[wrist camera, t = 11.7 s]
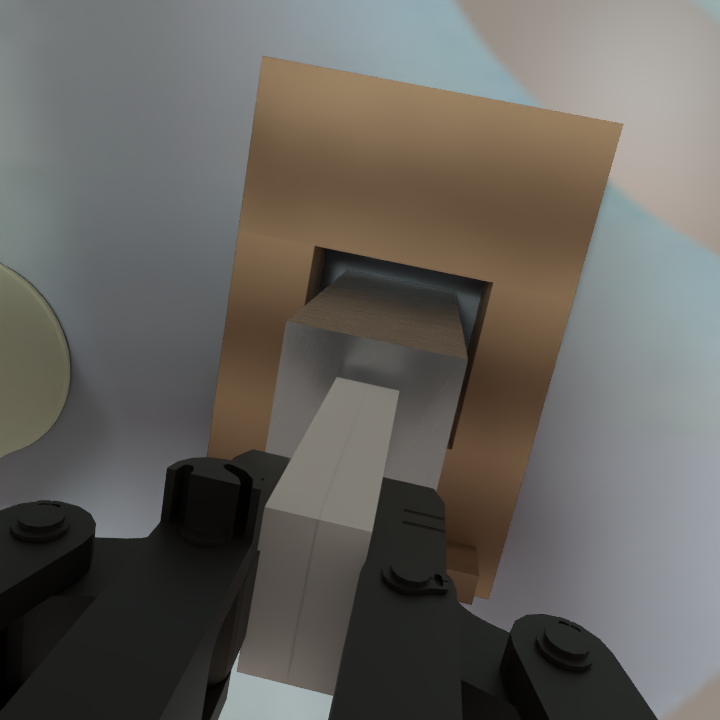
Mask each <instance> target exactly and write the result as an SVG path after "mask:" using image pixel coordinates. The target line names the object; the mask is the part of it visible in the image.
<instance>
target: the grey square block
mask: <svg viewBox="0 0 720 720" xmlns="http://www.w3.org/2000/svg"><path fill="white" fill-rule="evenodd" d="M467 362H468V357H467V351H466V346H465V341H464V335H463V330H462V325H461V320H460V314H459V309H458V304H457V298H456V293H455V292H453V291H448V290H443V289H438V288H433V287H429V286H424V285H419V284H414V283H409V282H404V281H399V280H394V279H389V278H384V277H379V276H375V275H370V274H365V273H360V272H355V271H350V270H347V271H346V272H344V273H343V274H342V275H341V276H340V277H338V278H337V279H336V280H335V281H334V282H333V283H331V284H330V285H329V286H328V287H327V288H325V289H324V290H323V291H322V292H321V293H319V294H318V295H317V296H316V297H315V298H313V299H312V300H311V301H310V302H309V303H307V304H306V305H305V306H304V307H303V308H301V309H300V310H299V311H298V312H297V313H296V314H294V315H293V316H292V317H291V318H290V319H288V320H287V321H286V325H285V332H284V338H283V344H282V350H281V357H280V363H279V369H278V375H277V382H276V388H275V394H274V400H273V407H272V413H271V419H270V425H269V432H268V438H267V444H266V450H265V452H267V453H271V454H276V455H280V456H284V457H289V458H292V457H293V455H294V453H295V451H296V450H297V448H298V446H299V444H300V442H301V441H302V439H303V437H304V435H305V433H306V432H307V430H308V428H309V426H310V424H311V423H312V421H313V419H314V417H315V415H316V414H317V412H318V410H319V408H320V406H321V405H322V403H323V401H324V399H325V397H326V396H327V394H328V392H329V390H330V388H331V387H332V385H333V383H334V381H335V379H336V378H337V377H339V378H343V379H348V380H352V381H357V382H361V383H366V384H371V385H375V386H380V387H384V388H389V389H393V390H398V391H399V396H398V401H397V407H396V412H395V417H394V422H393V427H392V432H391V438H390V443H389V448H388V453H387V458H386V463H385V469H384V474H383V477H386V478H390V479H394V480H399V481H403V482H408V483H412V484H416V485H421V486H425V487H429V488H434V490H435V491H437V487H438V482H439V478H440V474H441V470H442V466H443V462H444V458H445V453H446V449H447V445H448V441H449V437H450V433H451V428H452V424H453V420H454V416H455V412H456V408H457V404H458V399H459V395H460V391H461V387H462V383H463V379H464V374H465V370H466V366H467Z"/></svg>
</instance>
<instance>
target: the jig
mask: <svg viewBox="0 0 720 720" xmlns="http://www.w3.org/2000/svg"><path fill="white" fill-rule="evenodd" d="M622 127H623V124H620V123H616V122H610V121H605V120H599V119H594V118H588V117H583V116H578V115H573V114H567V113H563V112H557V111H552V110H547V109H541V108H536V107H531V106H525V105H520V104H515V103H509V102H504V101H499V100H494V99H488V98H483V97H478V96H472V95H467V94H462V93H456V92H451V91H446V90H441V89H435V88H430V87H425V86H419V85H414V84H409V83H403V82H398V81H393V80H388V79H382V78H377V77H372V76H366V75H361V74H356V73H350V72H345V71H340V70H334V69H329V68H324V67H319V66H313V65H308V64H303V63H297V62H292V61H287V60H281V59H276V58H271V57H266V56H262V64H261V71H260V78H259V85H258V92H257V100H256V107H255V114H254V121H253V128H252V136H251V143H250V150H249V157H248V164H247V172H246V179H245V186H244V193H243V200H242V208H241V215H240V222H239V229H238V236H237V244H236V251H235V258H234V265H233V272H232V280H231V287H230V294H229V301H228V308H227V316H226V323H225V330H224V337H223V344H222V352H221V359H220V366H219V373H218V381H217V388H216V395H215V402H214V409H213V417H212V424H211V431H210V438H209V445H208V453H207V457H213V458H220V459H227V460H232V459H233V458H234V457H236V456H238V455H240V454H243V453H245V452H247V451H250V450H252V449H254V450H258V451H263V452H265V450H266V444H267V438H268V432H269V425H270V419H271V413H272V407H273V400H274V394H275V388H276V382H277V375H278V369H279V363H280V357H281V350H282V344H283V338H284V332H285V325H286V321H287V320H288V319H290V318H291V317H292V316H293V315H294V314H296V313H297V312H298V311H299V310H300V309H301V308H303V307H304V306H305V305H306V304H307V303H309V302H310V301H311V300H312V299H313V298H315V297H316V296H317V295H318V294H319V290H320V285H321V279H322V273H323V268H324V262H325V256H326V251H327V248H328V249H333V250H338V251H343V252H347V253H352V254H357V255H362V256H367V257H372V258H377V259H381V260H386V261H391V262H396V263H401V264H406V265H410V266H415V267H420V268H425V269H430V270H435V271H440V272H444V273H449V274H454V275H459V276H464V277H469V278H473V279H478V280H483V281H485V283H484V287H483V291H482V295H481V299H480V303H479V307H478V312H477V316H476V320H475V324H474V328H473V332H472V336H471V340H470V344H469V348H468V352H467V357H468V362H467V366H466V370H465V374H464V379H463V383H462V387H461V391H460V395H459V399H458V404H457V408H456V412H455V416H454V420H453V424H452V428H451V433H450V437H449V441H448V445H447V449H446V453H445V458H444V462H443V466H442V470H441V474H440V478H439V482H438V487H437V491H436V492H437V494H438V495H439V496H440V498H441V499H442V500H443V502H444V503H445V527H446V531H445V534H446V567H447V574H448V575H449V576H450V577H451V579H452V580H453V582H454V585H455V588H456V591H457V601H458V602H461V603H466V604H470V605H472V601H473V598H474V596H477V597H481V598H485V599H489V596H490V592H491V589H492V585H493V582H494V578H495V575H496V571H497V568H498V564H499V561H500V557H501V554H502V550H503V547H504V543H505V539H506V536H507V532H508V529H509V525H510V522H511V518H512V515H513V511H514V508H515V504H516V501H517V497H518V494H519V490H520V487H521V483H522V480H523V476H524V472H525V469H526V465H527V462H528V458H529V455H530V451H531V448H532V444H533V441H534V437H535V434H536V430H537V427H538V423H539V420H540V416H541V412H542V409H543V405H544V402H545V398H546V395H547V391H548V388H549V384H550V381H551V377H552V374H553V370H554V367H555V363H556V360H557V356H558V353H559V349H560V345H561V342H562V338H563V335H564V331H565V328H566V324H567V321H568V317H569V314H570V310H571V307H572V303H573V300H574V296H575V293H576V289H577V285H578V282H579V278H580V275H581V271H582V268H583V264H584V261H585V257H586V254H587V250H588V247H589V243H590V240H591V236H592V233H593V229H594V225H595V222H596V218H597V215H598V211H599V208H600V204H601V201H602V197H603V194H604V190H605V187H606V183H607V180H608V176H609V172H610V169H611V166H612V162H613V158H614V155H615V151H616V148H617V144H618V141H619V137H620V134H621V130H622Z"/></svg>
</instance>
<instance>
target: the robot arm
mask: <svg viewBox="0 0 720 720" xmlns="http://www.w3.org/2000/svg"><path fill="white" fill-rule="evenodd" d="M398 396H399V391H398V390H393V389H389V388H384V387H380V386H375V385H371V384H366V383H361V382H357V381H352V380H348V379H343V378H339V377H337V378H336V379H335V381H334V383H333V385H332V387H331V388H330V390H329V392H328V394H327V396H326V397H325V399H324V401H323V403H322V405H321V406H320V408H319V410H318V412H317V414H316V415H315V417H314V419H313V421H312V423H311V424H310V426H309V428H308V430H307V432H306V433H305V435H304V437H303V439H302V441H301V442H300V444H299V446H298V448H297V450H296V451H295V453H294V455H293V457H292V458H289V457H284V456H280V455H276V454H271V453H267V452H263V451H258V450H254V449H252V450H250V451H247V452H245V453H243V454H240V455H238V456H236V457H234V458H233V459H232V460H227V459H220V458H213V457H203V458H190V459H186V460H182V461H178V462H176V463H175V464H173V465H171V466H170V467H168V468H167V473H166V481H165V489H164V497H163V506H162V514H161V522H160V523H159V524H158V525H157V527H156V528H155V529H154V530H153V531H152V532H151V534H150V535H149V536H148V537H145V538H129V539H123V538H97V537H95V527H96V523H95V521H94V519H93V517H92V515H91V514H90V513H88V512H87V511H85V510H84V509H82V508H80V507H79V506H75V505H71V504H68V503H64V502H60V501H50V500H40V501H36V502H29V503H22V504H18V505H15V506H12V507H9V508H6V509H3V510H1V511H0V720H218V718H219V716H220V713H221V711H222V708H223V706H224V704H225V701H226V699H227V693H228V687H229V681H230V675H231V669H232V667H233V664H234V662H235V660H236V658H237V655H238V653H239V651H240V656H239V661H238V667H237V672H240V673H244V674H248V675H252V676H256V677H260V678H264V679H268V680H272V681H276V682H280V683H284V684H288V685H292V686H296V687H300V688H304V689H308V690H312V691H316V692H320V693H324V694H328V695H332V696H333V700H332V705H331V709H330V714H329V718H328V720H658V719H657V718H656V716H655V715H654V713H653V712H652V710H651V709H650V707H649V706H648V704H647V703H646V701H645V700H644V698H643V697H642V696H641V694H640V693H639V691H638V690H637V688H636V687H635V685H634V684H633V682H632V681H631V679H630V678H629V676H628V675H627V674H626V672H625V671H624V669H623V668H622V666H621V665H620V663H619V662H618V660H617V659H616V657H615V656H614V654H613V653H612V652H611V651H610V650H609V649H608V648H607V647H606V645H605V644H604V643H603V642H602V641H601V640H600V639H599V638H597V637H596V636H595V635H593V634H592V633H590V632H589V631H587V630H586V629H584V628H583V627H582V626H580V625H578V624H576V623H574V622H570V621H569V620H567V619H564V618H561V617H555V616H550V615H545V614H534V615H526V616H524V617H522V618H520V619H518V620H516V621H515V622H514V624H513V627H512V629H511V631H510V633H509V632H507V631H505V630H502V629H500V628H498V627H496V626H494V625H492V624H489V623H487V622H486V621H484V620H482V619H480V618H478V617H476V616H475V615H473V614H472V613H471V612H469V611H468V610H467V609H465V608H464V607H463V606H462V605H461V604H460V603H459V602H458V601H457V591H456V588H455V585H454V582H453V580H452V579H451V577H450V576H449V575H448V574H447V567H446V534H445V531H446V527H445V503H444V502H443V500H442V499H441V498H440V496H439V495H438V494H437V492H436V491H435V490H434V488H429V487H425V486H421V485H416V484H412V483H408V482H403V481H399V480H394V479H390V478H386V477H383V474H384V469H385V463H386V458H387V453H388V448H389V443H390V438H391V432H392V427H393V422H394V417H395V412H396V407H397V401H398ZM240 648H241V650H240Z"/></svg>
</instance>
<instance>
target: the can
mask: <svg viewBox="0 0 720 720" xmlns="http://www.w3.org/2000/svg"><path fill="white" fill-rule="evenodd" d="M70 370H71V368H70V358H69V351H68V347H67V343H66V339H65V336H64V333H63V331H62V328H61V326H60V324H59V322H58V320H57V318H56V316H55V314H54V313H53V311H52V309H51V308H50V306H49V305H48V304H47V302H46V301H45V299H44V298H43V297H42V296H41V295H40V294H39V293H38V291H37V290H36V289H35V288H34V287H33V286H32V285H31V284H30V283H29V282H28V281H26V280H25V279H24V278H22V277H21V276H20V275H18V274H17V273H16V272H14V271H13V270H11V269H9V268H8V267H6V266H4V265H2V264H0V458H1V457H3V456H5V455H7V454H8V453H11V452H14V451H17V450H20V449H22V448H24V447H26V446H28V445H30V444H32V443H33V442H35V441H36V440H38V439H39V438H40V437H41V436H43V435H44V434H45V433H46V432H47V431H48V430H49V429H50V428H51V426H52V425H53V424H54V423H55V421H56V420H57V418H58V417H59V415H60V413H61V411H62V409H63V407H64V404H65V401H66V398H67V395H68V391H69V385H70Z"/></svg>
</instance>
